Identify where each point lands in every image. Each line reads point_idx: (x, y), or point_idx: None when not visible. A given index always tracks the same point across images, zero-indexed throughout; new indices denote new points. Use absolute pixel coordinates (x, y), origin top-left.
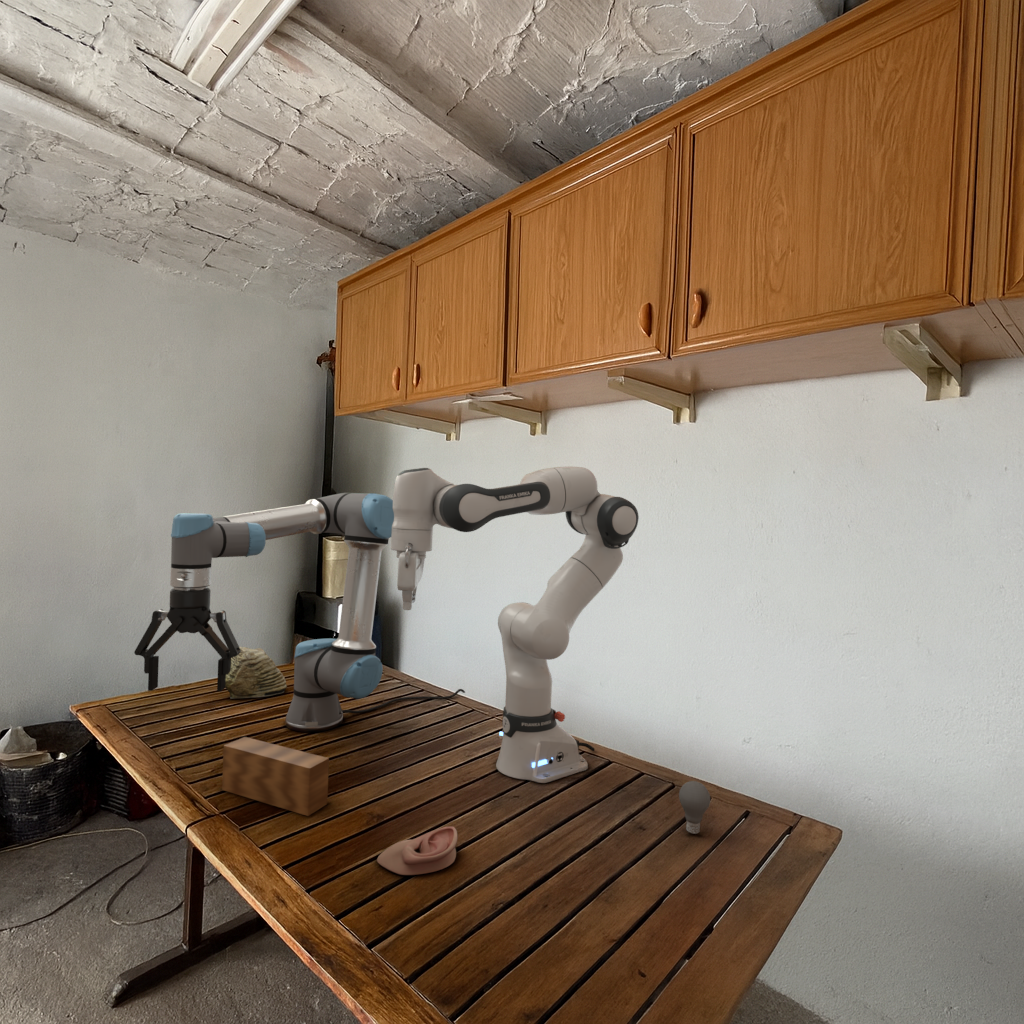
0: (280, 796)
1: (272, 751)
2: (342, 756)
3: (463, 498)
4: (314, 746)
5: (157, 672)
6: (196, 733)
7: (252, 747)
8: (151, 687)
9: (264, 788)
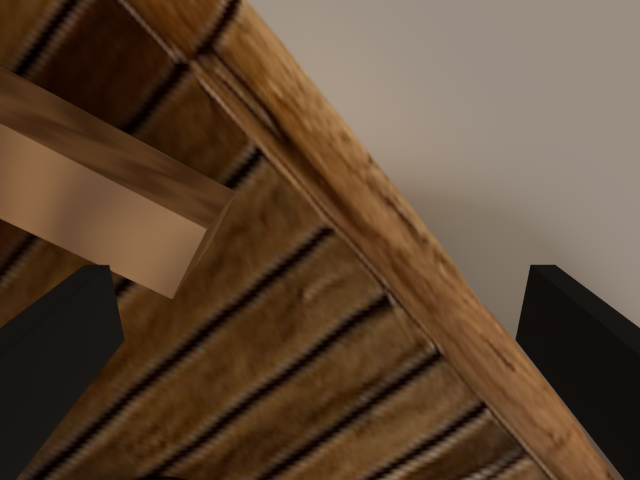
0: (29, 92)
1: (19, 178)
2: None
3: None
4: (117, 412)
5: (573, 401)
6: (410, 471)
7: (103, 212)
8: (545, 275)
9: (82, 123)
